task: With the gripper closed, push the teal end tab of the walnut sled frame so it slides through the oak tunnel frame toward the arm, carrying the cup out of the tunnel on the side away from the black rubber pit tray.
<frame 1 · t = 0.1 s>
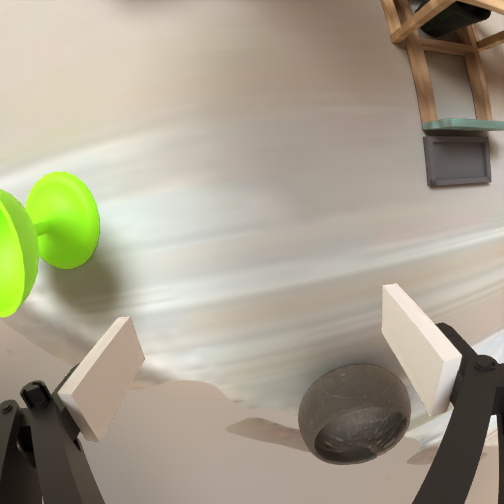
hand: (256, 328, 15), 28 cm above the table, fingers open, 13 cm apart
wineglass: (59, 221, 43), on the table
tunnel: (429, 21, 32), on the table
cup: (429, 22, 32), resting in sled
pit tray: (457, 159, 38), on the table
bowl: (345, 386, 50), on the table
sled: (453, 49, 30), point 4 cm above the table, slide at 0.0 cm
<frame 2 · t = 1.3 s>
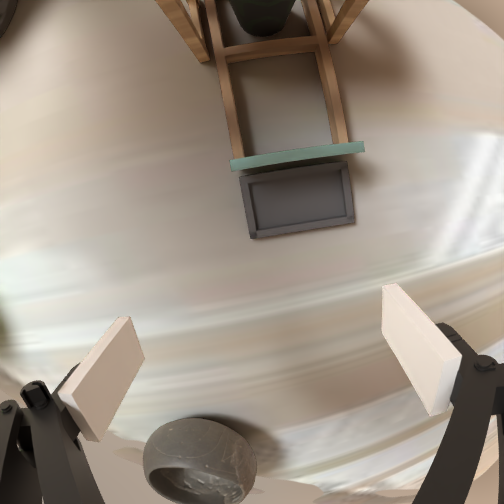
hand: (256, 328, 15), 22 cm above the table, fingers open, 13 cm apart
tunnel: (262, 17, 29), on the table
cup: (262, 18, 29), resting in sled
pit tray: (297, 198, 36), on the table
bowl: (205, 433, 48), on the table
sled: (273, 49, 27), point 4 cm above the table, slide at 0.0 cm
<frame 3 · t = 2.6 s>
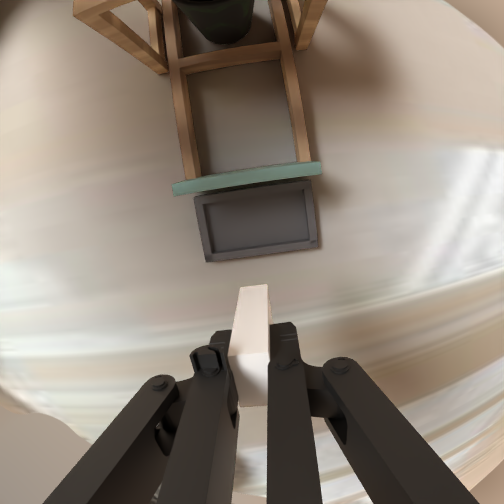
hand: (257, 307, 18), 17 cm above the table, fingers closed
tunnel: (225, 23, 27), on the table
cup: (225, 24, 28), resting in sled
pit tray: (257, 219, 34), on the table
sled: (229, 59, 25), point 4 cm above the table, slide at 0.0 cm
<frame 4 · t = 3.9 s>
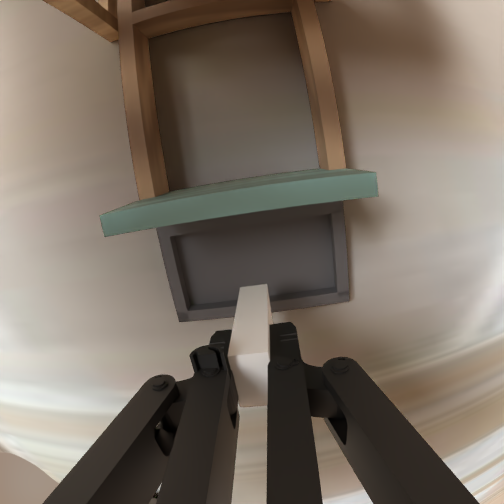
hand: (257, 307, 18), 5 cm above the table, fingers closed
pit tray: (256, 258, 22), on the table
sled: (209, 3, 13), point 4 cm above the table, slide at 0.0 cm
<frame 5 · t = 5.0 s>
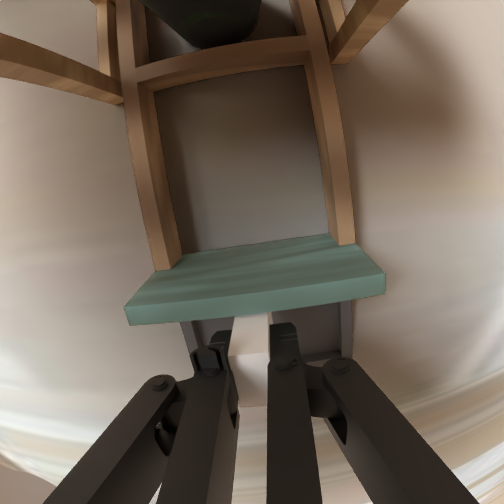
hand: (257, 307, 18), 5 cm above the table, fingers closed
tunnel: (217, 19, 17), on the table
cup: (217, 17, 17), resting in sled
pit tray: (268, 326, 23), on the table
sled: (219, 66, 14), point 4 cm above the table, slide at 1.0 cm, touching cup, gripper
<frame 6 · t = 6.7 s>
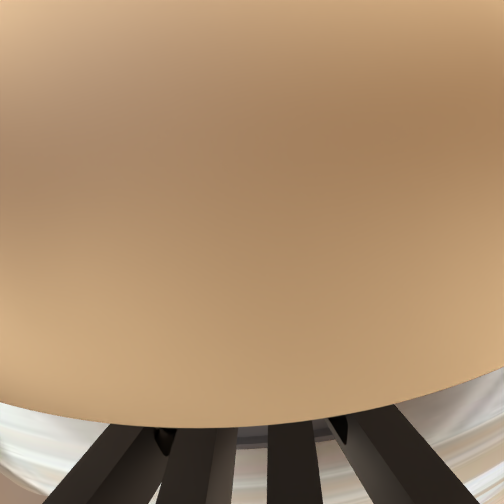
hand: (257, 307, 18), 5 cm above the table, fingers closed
tunnel: (239, 144, 20), on the table
pit tray: (281, 411, 26), on the table
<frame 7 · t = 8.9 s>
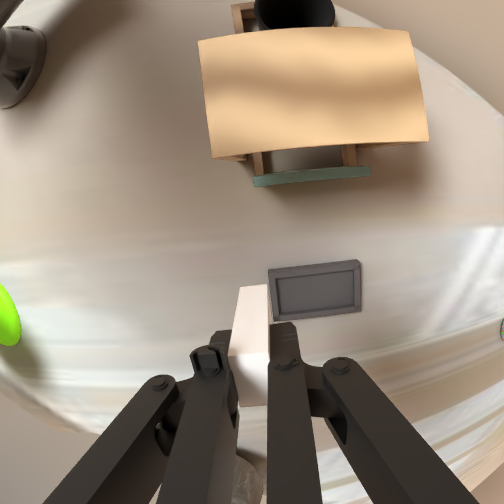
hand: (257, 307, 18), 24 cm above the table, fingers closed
tunnel: (297, 118, 37), on the table
cup: (288, 50, 34), resting in sled
pit tray: (314, 289, 42), on the table
bowl: (219, 459, 54), on the table
sled: (295, 78, 31), point 4 cm above the table, slide at 10.4 cm
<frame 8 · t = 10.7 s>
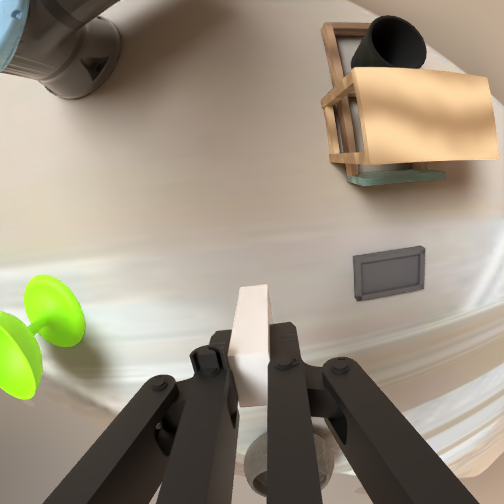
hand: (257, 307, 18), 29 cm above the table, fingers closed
wineglass: (53, 312, 53), on the table
tunnel: (378, 127, 41), on the table
cup: (368, 67, 39), resting in sled
pit tray: (388, 271, 47), on the table
bowl: (287, 439, 59), on the table
sled: (383, 95, 36), point 4 cm above the table, slide at 10.4 cm
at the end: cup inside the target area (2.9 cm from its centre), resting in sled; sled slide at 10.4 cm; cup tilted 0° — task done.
